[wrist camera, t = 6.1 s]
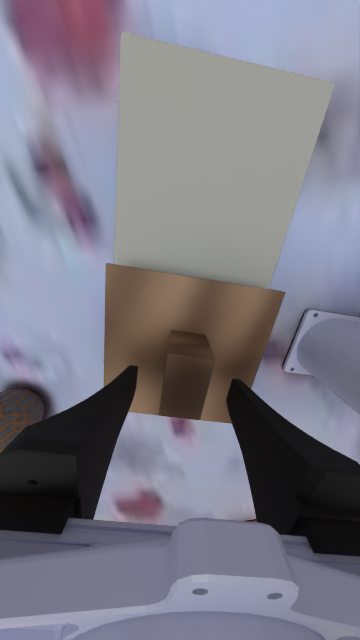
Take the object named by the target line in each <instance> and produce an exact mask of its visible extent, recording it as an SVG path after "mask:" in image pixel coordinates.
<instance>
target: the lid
mask: <svg viewBox="0 0 360 640" xmlns="http://www.w3.org/2000/svg"><path fill="white" fill-rule="evenodd" d="M284 295H285V292H281V291H276V290H270V289H264V288H258V287H252V286H245V285H239V284H233V283H227V282H221V281H215V280H209V279H202V278H196V277H190V276H184V275H178V274H172V273H166V272H159V271H153V270H147V269H141V268H135V267H129V266H122V265H116V264H110V263H106V284H105V345H104V387H105V386H106V385H107V384H109V383H110V382H111V381H112V380H114V379H115V378H116V377H117V376H118V375H119V374H121V373H122V372H123V371H124V370H125V369H126V368H127V367H128V366H129V365H134V366H138V374H137V385H136V391H135V394H134V398H133V401H132V404H131V406H130V409H129V411H128V412H135V413H144V414H152V415H160V416H168V417H177V418H186V419H195V420H205V421H214V422H223V423H232V422H231V419H230V416H229V412H228V408H227V403H226V398H227V394H228V391H229V388H230V385H231V381H232V378H233V379H240V380H241V381H243V382H244V383H245V384H246V385H247V386H248V387H249V388H250V389H251V387H252V385H253V382H254V379H255V376H256V373H257V371H258V368H259V365H260V362H261V359H262V356H263V354H264V351H265V348H266V345H267V342H268V340H269V337H270V334H271V331H272V328H273V326H274V323H275V320H276V317H277V314H278V312H279V309H280V306H281V303H282V300H283V297H284Z"/></svg>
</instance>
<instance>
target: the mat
mask: <svg viewBox="0 0 360 640" xmlns="http://www.w3.org/2000/svg"><path fill="white" fill-rule="evenodd" d="M334 85H335V83H332V82H328V81H324V80H320V79H316V78H312V77H308V76H304V75H299V74H295V73H291V72H287V71H283V70H279V69H275V68H271V67H267V66H262V65H258V64H254V63H250V62H246V61H242V60H238V59H234V58H230V57H225V56H221V55H217V54H213V53H209V52H205V51H201V50H197V49H193V48H188V47H184V46H180V45H176V44H172V43H168V42H164V41H160V40H156V39H151V38H147V37H143V36H139V35H135V34H131V33H127V32H123V31H121V52H120V83H119V115H118V147H117V179H116V211H115V243H114V264H116V265H122V266H129V267H135V268H141V269H147V270H153V271H159V272H166V273H172V274H178V275H184V276H190V277H196V278H202V279H209V280H215V281H221V282H227V283H233V284H239V285H245V286H252V287H258V288H264V289H269V286H270V283H271V280H272V277H273V274H274V271H275V268H276V265H277V262H278V259H279V255H280V252H281V249H282V246H283V243H284V240H285V237H286V234H287V231H288V228H289V225H290V221H291V218H292V215H293V212H294V209H295V206H296V203H297V200H298V197H299V194H300V190H301V187H302V184H303V181H304V178H305V175H306V172H307V169H308V166H309V163H310V160H311V156H312V153H313V150H314V147H315V144H316V141H317V138H318V135H319V132H320V129H321V125H322V122H323V119H324V116H325V113H326V110H327V107H328V104H329V101H330V98H331V95H332V91H333V88H334Z"/></svg>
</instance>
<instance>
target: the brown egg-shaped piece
mask: <svg viewBox="0 0 360 640" xmlns="http://www.w3.org/2000/svg"><path fill="white" fill-rule="evenodd" d="M43 415H44V404H43V401H42V399H41V397H40V396H39V395H38V394H37V393H35V392H33V391H31V390H28V389H10V390H5V391H2V392H0V453H1V452H2V451H3V450H4V449H5V447H6V446H7V445H8V444H9V443H10V442H11V441H12V440H13V439H14V438H15V437H16V436H17V435H18V434H19V433H20V432H21V431H22V430H23V429H24V428H25V427H26V426H29V425H32V424H34V423H37V422H39V421H42V418H43Z"/></svg>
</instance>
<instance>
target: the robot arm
mask: <svg viewBox="0 0 360 640" xmlns="http://www.w3.org/2000/svg"><path fill="white" fill-rule="evenodd" d="M315 313H316V314H315ZM314 314H315V316H313V315H314ZM291 368H292V369H291ZM283 370H284V371H285V372H290V373H298V374H305V375H312V376H313V377H315V378H316V379H317V380H318V381H320V382H321V383H322V384H323V385H324V386H326V387H327V388H328V389H329V390H331V391H332V392H333V393H334V394H335V395H337V396H338V397H339V398H340V399H341V400H343V401H344V402H345V403H346V404H348V405H349V406H350V407H351V408H352V409H354V410H355V411H356V412H357V413H358V414H360V317H356V316H349V315H343V314H337V313H330V312H324V311H318V310H311V309H309V310H307V311H306V312H305V314H304V317H303V319H302V321H301V324H300V326H299V329H298V331H297V334H296V336H295V339H294V341H293V343H292V346H291V348H290V351H289V353H288V356H287V358H286V361H285V363H284V365H283ZM137 374H138V366H134V365H129V366H128V367H127V368H126V369H125V370H124V371H123V372H122V373H121V374H119V375H118V376H117V377H116V378H115V379H114V380H112V381H111V382H110V383H109V384H107V385H106V386H105V387H104V388H102V389H101V390H100V391H98V392H97V393H95V394H94V395H92V396H91V397H89V398H87V399H86V400H84V401H82V402H80V403H79V404H77V405H75V406H73V407H71V408H69V409H67V410H65V411H63V412H61V413H59V414H56V415H54V416H52V417H50V418H47V419H45V420H42V421H39V422H37V423H34V424H32V425H29V426H26V427H25V428H24V429H23V430H22V431H21V432H20V433H19V434H18V435H17V436H16V437H15V438H14V439H13V440H12V441H11V442H10V443H9V444H8V445H7V446H6V447H5V449H4V450H3V451H2V452H1V453H0V640H360V465H359V463H358V462H356V461H354V460H352V459H350V458H348V457H347V456H345V455H343V454H341V453H339V452H337V451H335V450H333V449H331V448H330V447H328V446H326V445H324V444H323V443H321V442H319V441H318V440H316V439H314V438H313V437H311V436H309V435H308V434H306V433H305V432H303V431H302V430H300V429H299V428H297V427H296V426H294V425H293V424H292V423H290V422H289V421H288V420H286V419H285V418H284V417H282V416H281V415H280V414H278V413H277V412H276V411H275V410H273V409H272V408H271V407H270V406H269V405H268V404H266V403H265V402H264V401H263V400H262V399H261V398H260V397H259V396H258V395H257V394H255V393H254V392H253V391H252V390H251V389H250V388H249V387H248V386H247V385H246V384H245V383H244V382H243V381H241V380H240V379H233V378H232V381H231V385H230V388H229V391H228V394H227V398H226V403H227V408H228V412H229V416H230V419H231V422H232V425H233V427H234V430H235V433H236V436H237V439H238V442H239V445H240V448H241V451H242V455H243V459H244V463H245V467H246V471H247V475H248V480H249V484H250V489H251V493H252V498H253V503H254V508H255V513H256V519H257V522H246V521H234V520H222V519H210V518H194V519H188V520H186V521H183V522H181V523H179V525H178V526H165V525H152V524H140V523H127V522H115V521H102V520H93V518H94V515H95V511H96V508H97V504H98V501H99V497H100V494H101V490H102V487H103V484H104V480H105V477H106V474H107V470H108V467H109V464H110V461H111V457H112V454H113V451H114V448H115V445H116V441H117V438H118V436H119V433H120V431H121V428H122V426H123V423H124V421H125V418H126V416H127V414H128V411H129V409H130V406H131V404H132V401H133V398H134V394H135V391H136V385H137Z"/></svg>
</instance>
